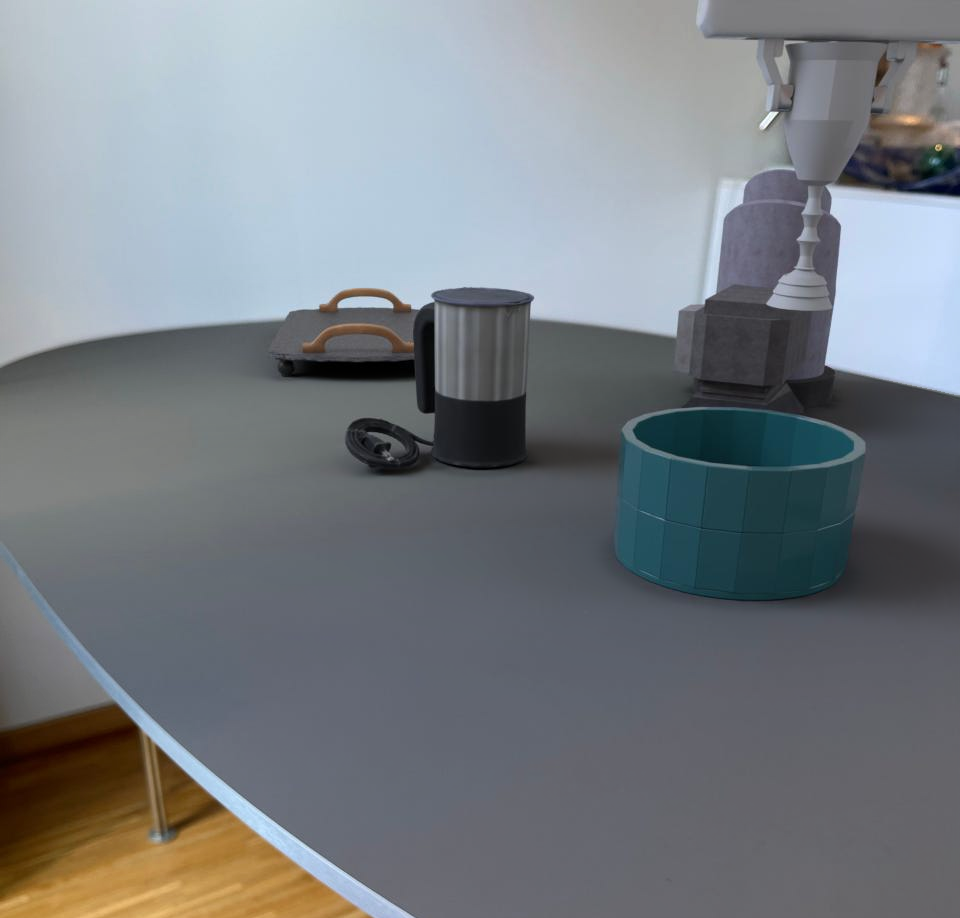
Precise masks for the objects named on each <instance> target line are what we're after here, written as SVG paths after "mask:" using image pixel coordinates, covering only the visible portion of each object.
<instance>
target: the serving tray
mask: <svg viewBox="0 0 960 918" xmlns="http://www.w3.org/2000/svg"><path fill="white" fill-rule="evenodd" d="M359 297H360V298H361V297H364V298H365V297H368V298H369V297H372V298H380V299H384V300H387V301H389V302H390V303H391V304H392V306H393V307H374V306H373V307H371V306H369V307H364V306H363V307H360V306H358V307H339V303H340V302H341V301H344V300H346V299H351V298H359ZM419 310H420V309H416V308H412V304H411V303H404V302H402V301H401V299H399V297H397V296H396V294H394V293H393V292H391V291H389V290H387V289H382V288H375V287H356V288H355V287H353V288H347V289H343V290H341V291H340V292H338V293H336V294H335V295H333V297H332V298H331V299H330V300H329V301H328V302H326V303H319V305H318V308H314V309H303V308H302V309H297V310H290V311H289V312H288V314H286V317H285V319H284V320H283V322H282V324H281V325H280V328H279V329H278V331H277V332H276V334H275V337H274V339H273V340H272V341H271V343H270V345H269V348H268V349H267V352H266V357H267V358H270V359H275V360H278V363H277V370H278V372H279V373H280V376H282V377H292V376H293V375H294V373H295V370H296V364H295V361H302V362H303V361H305V362H319V363H330V362H338V363H339V362H340V363H374V362H375V363H381V362H387V363H388V362H390V363H393V362H405V361H406V362H410V361H414V340H413V327H414V321H415V318H416V315H417V313H418V311H419Z"/></svg>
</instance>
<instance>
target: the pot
mask: <svg viewBox="0 0 960 918" xmlns="http://www.w3.org/2000/svg"><path fill="white" fill-rule="evenodd" d="M619 441H620V443H619V458H618V470H617V485H616V499H615V515H614V528H613V543H614V544H613V549H614V554H615V556H616V558H617V560H618V561H619V563H620V564H621V565H622V566H624V567H625V568H626V569H627V570H628V571H629V572H632V573H633V574H635V575H636V576H638V577H640V578H642V579H644V580H646V581H648V582H651V583H654V584H656V585H659V586H662V587H665V588H669V589H672V590H675V591H678V592H683V593H686V594H687V593H688V594H692V595H698V596H703V597H709V598H718V599H727V600H739V601H740V600H741V601H771V600H773V601H774V600H785V599H792V598H793V599H794V598H799V597H803V596H808V595H812V594H816V593H819V592H821V591H824V590H826V589H828V588H830V587H832V586H833V585H835V584H836V583H838V581H840V580H841V578H842V577H843V575H844V574H845V570H846V567H847V562H848V557H849V550H850V545H851V538H852V535H853V534H852V533H853V527H854V523H855V515H856V510H857V504H858V498H859V493H860V487H861V482H862V475H863V470H864V465H865V459H866V454H867V453H866V452H867V449H866V448H867V447H866V446H867V444H866V441H865V440H864V439H862V438H861V437H860V436H859V435H858V434H856V432H854V431H852V430H849V429H846V428H844V427H841V426H840V425H837V424H834V423H832V422H829V421H827V420H826V421H825V420H822V419H818V418H814V417H810V416H805V415H802V414H799V415H796V414H789V413H783V412H777V411H769V410H761V409H749V408H737V407H735V408H734V407H694V408H682V407H681V408H671V409H670V408H669V409H664V410H659V411H653V412H648V413H643V414H642V415H639V416H637V417H634V418H631V419H629V420H628V421H627V422H626V423H625V425H624V426H623V427H622V429H621V430H620V440H619Z"/></svg>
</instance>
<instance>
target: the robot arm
mask: <svg viewBox="0 0 960 918" xmlns="http://www.w3.org/2000/svg"><path fill="white" fill-rule="evenodd" d="M695 24H696V27H697V29H698V31H699V32H700V34H701V35H702V37H703V38H704V39H706V40H731V41H733V40H734V41H736V40H737V41H757V49H756V58H755V59H756V62H757V64H758V66H759V68H760V72H761V74H762V76H763V78H764V81H765V84H766V85H767V92H766V93H767V94H766V102H765V111H766V113H784V112H790V110H791V106H792V101H791V99H790V98H791V97H792V95H793V91H794V85H789V84H787V83H786V84H785V83H784V81H783V79H782V76H781V73H780V70H779V68H778V65H777V62H776V59H777V58H781V57H782V56H783V54H784V48H785V47H784V46H785V42H789V41H790V42H870V43H883V44H888V45H889V46H888V47H887V50H886V51H887V53H886V57H885V58H886V60H887V61H890V62H891V61H893V62H892V64H891V65H890V66H889V68H888V70H887V71H886V73H885V74H884V76H883V77H882V79H881V80H880V82H879V83H878V85H876V86H874V92H873V99H872V104H871V111H870V115H889V113H890V111H891V109H892V103H893V99H894V98H893V97H894V92H895V87H897V86H898V85H899V83H900V82H901V80H902V79H903V78H904V76H906V74H907V72H908V71H909V69H910V68H911V66H912V65H913V64H914V62H915V61H916V57H917V50H918V46H919V44H928V45H929V44H930V45H932V44H933V45H937V44H938V45H960V0H698V3H697V10H696V19H695Z"/></svg>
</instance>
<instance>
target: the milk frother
mask: <svg viewBox="0 0 960 918" xmlns="http://www.w3.org/2000/svg"><path fill="white" fill-rule="evenodd" d="M430 297H431V298H432V299H433V301H431V302H429V303H426V304H424V305H423V306H421V308H420V309H418V310H419V311H418V313H417V315H416V318H415V321H414V327H413V340H414V360H413V362H414V376H415V377H414V378H415V395H416V407H417V409H418V411H419V412H420V413H422V414H425V415H427V414H434V422H433V423H434V424H433V425H434V427H433V428H434V429H433V439H432V440H433V441H429V440H426V439H423V438H422V437H420V436H418V435H416V434H415V433H413V432H411V431H409V430H408V429H406V428H404V427H402V426H400V425H398V424H394V423H393V422H391V421H388V420H385V419H382V418H376V417H360V418H357V419H355V420H353V421H352V422H351V423H350V424H349V425H348V427H347V429H346V431H345V436H344V443H345V446H346V448H347V451H348V452H349V453H350V454H351V456H353V457H354V458H355V459H357V460H358V461H359V462H362V463H363V464H365V465H368V467H369V468H371V469H375V468H380V469H385V470H395V469H397V470H398V469H404V468H408V467H411V466H412V465H415V464H416V463H417V461H418V460H419V456H420V447H419V445H418V444H417V443H419V444H422V445H426V446H430V447H431V450H430V454H431V456H432V457H433V458H434V459H436V460H438V461H440V462H442V463H445V464H448V465H452V466H458V467H468V468H482V469H483V468H484V469H485V468H498V467H507V466H511V465H516V464H518V463H520V462H523V461H524V460H526V458H527V457H528V456H529V455H528V453H529V452H528V449H527V448H526V446H527V445H526V443H527V441H526V439H527V438H526V434H527V433H526V429H527V428H526V422H527V421H526V420H527V419H526V418H527V416H526V414H527V413H526V412H527V388H528V376H529V375H528V372H529V371H528V370H529V349H530V331H531V330H530V329H531V307H532V302H533V301H534V300H535V296H534V295H532V294H531V293H529V292H524V291H520V290H514V289H509V288H508V289H506V288H500V287H499V288H498V287H494V288H493V287H480V286H479V287H472V286H469V287H467V286H463V287H457V288H444V289H439V290H436V291H434V292H432V293H430ZM369 433H376V434H382V435H386V436H389V437H391V438H393V439H395V440H396V441H398V442H399V443H400V444H401V445H402V446H403V447H404V449H405V452H404V453H403V454H400V455H397V456H392V455H391V452H390V451H391V448H392V443H391V442H390V441H384V440H382V439H381V438H380V437H378V436H376V435H373V434H369Z"/></svg>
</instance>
